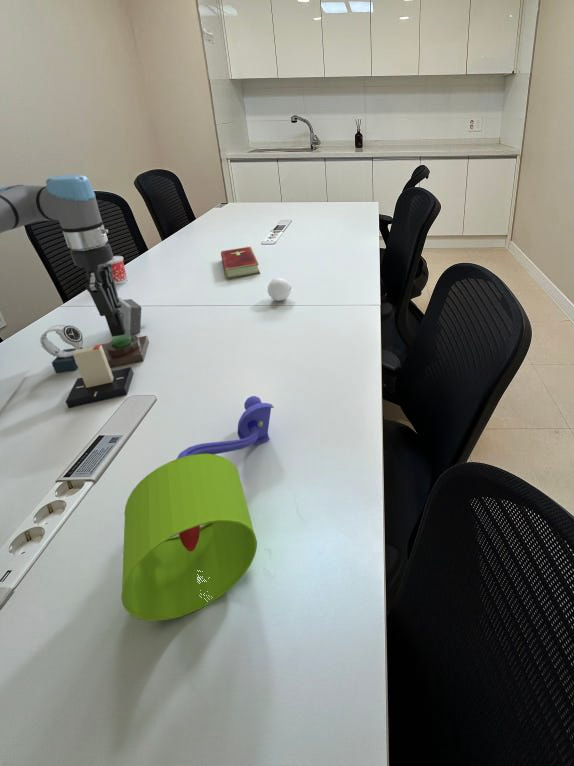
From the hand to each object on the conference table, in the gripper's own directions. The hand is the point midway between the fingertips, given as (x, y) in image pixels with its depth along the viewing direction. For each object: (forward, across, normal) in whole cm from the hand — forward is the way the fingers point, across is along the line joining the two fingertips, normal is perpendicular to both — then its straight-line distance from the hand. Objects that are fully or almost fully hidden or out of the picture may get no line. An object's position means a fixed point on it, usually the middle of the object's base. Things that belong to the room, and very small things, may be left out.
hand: (118, 334), depth 97 cm
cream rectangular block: (+4, -13, +2) cm, 14 cm away
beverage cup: (+7, +53, +11) cm, 55 cm away
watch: (+7, +1, +12) cm, 14 cm away
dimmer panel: (+6, -13, +2) cm, 15 cm away
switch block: (+7, 0, +1) cm, 7 cm away
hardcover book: (+7, +50, -31) cm, 59 cm away
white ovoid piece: (+6, +17, -42) cm, 46 cm away
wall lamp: (+6, -50, -23) cm, 55 cm away
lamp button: (+3, 0, 0) cm, 3 cm away
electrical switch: (+7, +14, +1) cm, 15 cm away
